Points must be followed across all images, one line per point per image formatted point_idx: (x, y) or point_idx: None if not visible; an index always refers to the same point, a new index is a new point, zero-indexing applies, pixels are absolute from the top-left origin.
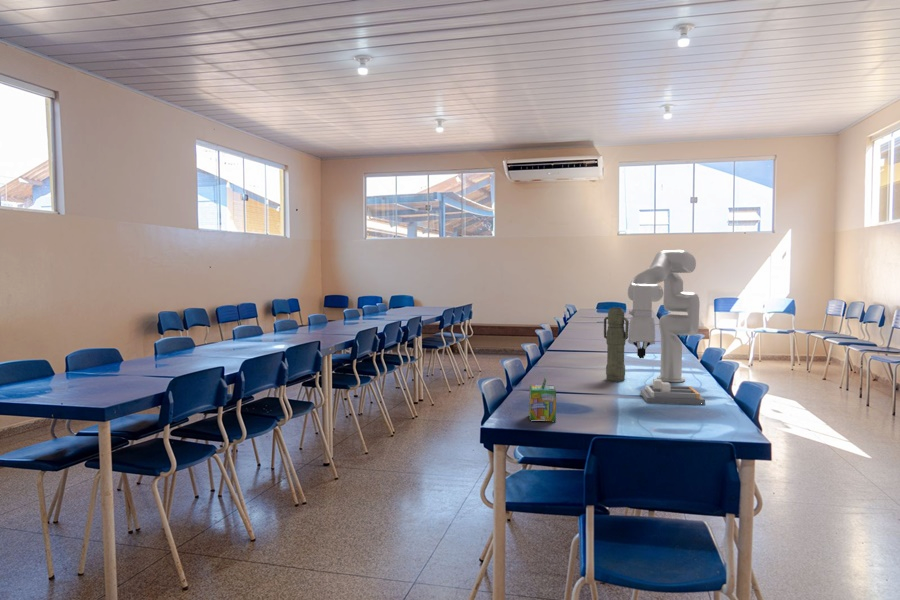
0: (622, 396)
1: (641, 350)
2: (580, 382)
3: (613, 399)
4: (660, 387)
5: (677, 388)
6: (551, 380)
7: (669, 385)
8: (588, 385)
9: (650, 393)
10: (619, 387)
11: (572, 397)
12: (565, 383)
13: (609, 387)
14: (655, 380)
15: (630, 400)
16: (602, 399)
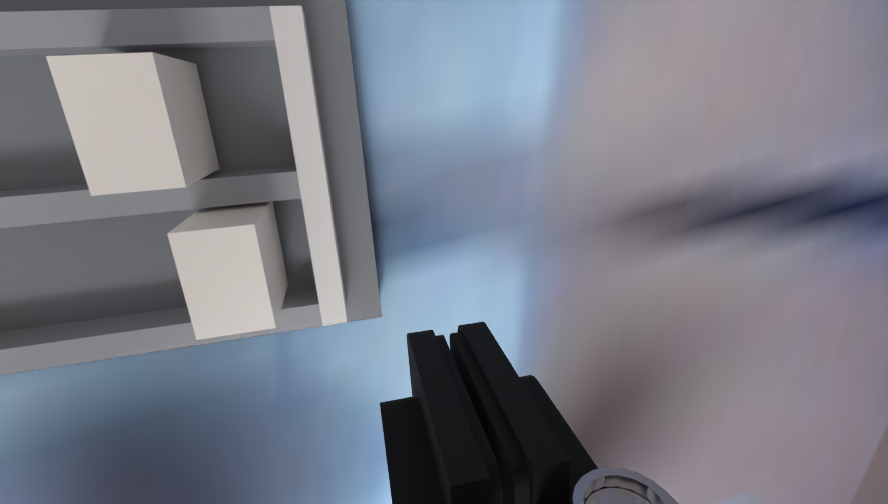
0: (508, 186)
1: (507, 440)
2: (687, 482)
3: (580, 69)
4: (207, 215)
5: (56, 335)
6: (810, 473)
7: (68, 55)
8: (661, 429)
9: (308, 51)
10: None
11: (817, 76)
12: (764, 433)
13: None
14: (247, 258)
15: (465, 60)
16: (652, 53)
